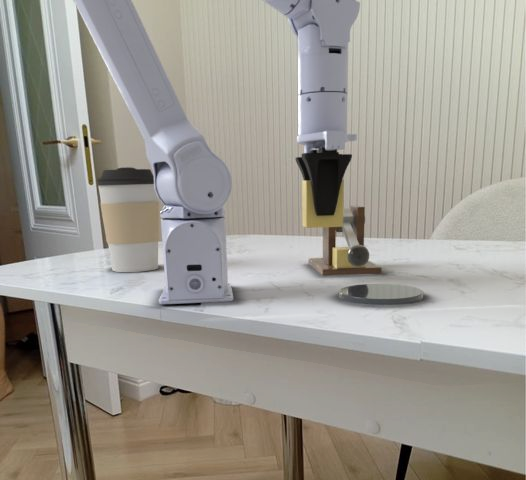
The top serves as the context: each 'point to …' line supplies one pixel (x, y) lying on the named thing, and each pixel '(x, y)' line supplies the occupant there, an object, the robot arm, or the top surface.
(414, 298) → the plate
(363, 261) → the ball knob lever
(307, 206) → the butter portion
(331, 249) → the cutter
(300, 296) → the top surface
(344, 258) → the butter block
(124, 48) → the robot arm
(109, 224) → the coffee cup
